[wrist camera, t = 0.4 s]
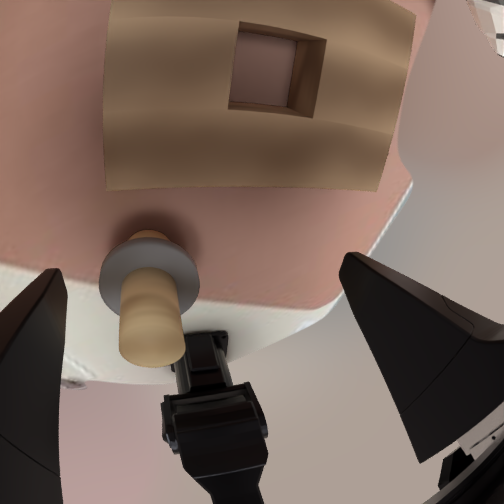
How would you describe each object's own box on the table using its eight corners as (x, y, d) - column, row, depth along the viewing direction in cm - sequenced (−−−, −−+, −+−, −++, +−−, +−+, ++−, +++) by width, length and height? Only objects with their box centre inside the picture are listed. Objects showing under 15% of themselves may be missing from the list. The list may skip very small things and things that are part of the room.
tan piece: (191, 281, 25) (211, 374, 18) (113, 286, 23) (108, 382, 16) (192, 208, 21) (216, 300, 14) (100, 213, 19) (75, 309, 12)
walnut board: (348, 171, 23) (376, 192, 20) (115, 167, 18) (106, 191, 15) (380, 15, 15) (416, 15, 12) (130, -31, 10) (123, -52, 7)
